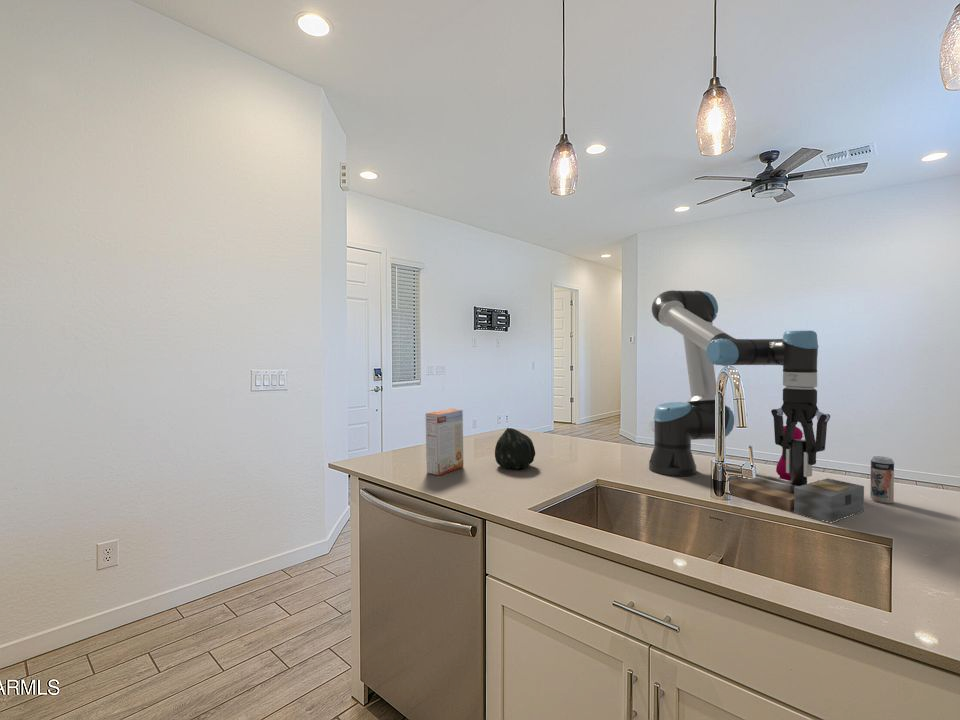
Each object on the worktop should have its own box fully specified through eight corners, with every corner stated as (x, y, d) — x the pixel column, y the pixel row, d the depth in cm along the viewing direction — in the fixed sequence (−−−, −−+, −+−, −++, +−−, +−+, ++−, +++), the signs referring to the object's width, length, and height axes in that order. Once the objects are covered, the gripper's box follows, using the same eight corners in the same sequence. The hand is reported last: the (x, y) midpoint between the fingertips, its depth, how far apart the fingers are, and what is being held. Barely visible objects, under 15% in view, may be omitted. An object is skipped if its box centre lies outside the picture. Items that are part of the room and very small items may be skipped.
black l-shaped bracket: (783, 489, 120) (783, 439, 120) (790, 487, 122) (790, 438, 122) (834, 502, 110) (835, 447, 110) (841, 500, 112) (842, 446, 111)
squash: (544, 448, 163) (517, 417, 165) (540, 459, 149) (511, 426, 150) (516, 471, 166) (490, 441, 168) (509, 485, 152) (481, 451, 153)
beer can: (866, 499, 122) (866, 456, 121) (876, 497, 124) (876, 455, 123) (888, 505, 117) (888, 460, 117) (897, 502, 119) (898, 458, 119)
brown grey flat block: (722, 492, 129) (722, 468, 129) (756, 483, 137) (756, 461, 137) (831, 523, 105) (831, 494, 105) (863, 511, 113) (864, 484, 113)
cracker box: (451, 464, 161) (450, 408, 161) (464, 467, 158) (463, 409, 157) (425, 473, 150) (424, 412, 150) (438, 476, 146) (438, 414, 146)
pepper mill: (809, 489, 131) (810, 422, 131) (782, 488, 132) (783, 422, 132) (797, 482, 138) (797, 419, 138) (771, 481, 139) (772, 418, 139)
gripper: (759, 386, 124) (759, 468, 124) (829, 390, 109) (828, 484, 109) (774, 385, 127) (773, 465, 128) (843, 389, 113) (842, 480, 113)
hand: (798, 474), depth 119 cm, fingers closed on black l-shaped bracket, 4 cm apart
